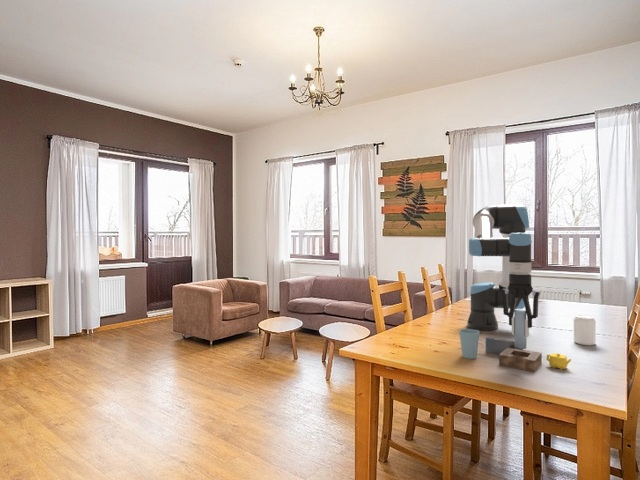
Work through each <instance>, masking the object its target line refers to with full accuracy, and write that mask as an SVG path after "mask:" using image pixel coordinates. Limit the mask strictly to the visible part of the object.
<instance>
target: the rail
mask: <svg viewBox="0 0 640 480" xmlns="http://www.w3.org/2000/svg"><path fill="white" fill-rule="evenodd" d="M507 347H510V348H515V340H513V341H512V340H508V339H507V340H506V339H500V338H493V337H485V353H488V354H489V353H490V354H493V355H499V354H500V353H502V352H503V351H504V350H505V349H506V348H507ZM516 349H518V348H516ZM522 350H524V349H522Z"/></svg>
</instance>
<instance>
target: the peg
mask: <svg viewBox="0 0 640 480" xmlns="http://www.w3.org/2000/svg"><path fill="white" fill-rule="evenodd" d="M513 317H514V327H515V335H514V342H515V348H518V349H523V350H527V337H525V319H526V318H527V314H526V309H515V310H514V316H513Z"/></svg>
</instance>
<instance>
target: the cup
mask: <svg viewBox="0 0 640 480" xmlns="http://www.w3.org/2000/svg"><path fill="white" fill-rule="evenodd" d="M480 333H481V332H480V330H478V329H473V328H461V329H459V340H460V347H461V348H460V349H461V356H462V357H463V358H465V359H470V360H471V359H472V360H473V359H477V358H478V349H479V340H480Z"/></svg>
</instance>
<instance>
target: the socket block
mask: <svg viewBox="0 0 640 480" xmlns="http://www.w3.org/2000/svg"><path fill="white" fill-rule="evenodd" d="M542 353H543V352H539V351H533V350H528V349H523V350H522V349H516V348H510V347H507V348H506V349H505V350H504V351H503V352H502V353H500V354H498V365H499V366H502V367H508V368H513V369H519V370H522V371H523V370H524V371H527V372H532V373H533V372H534V373H535V372H536V371H537V369H539V367H540V366H541V365H542V363H543V362H542V357H543V355H542Z"/></svg>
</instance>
